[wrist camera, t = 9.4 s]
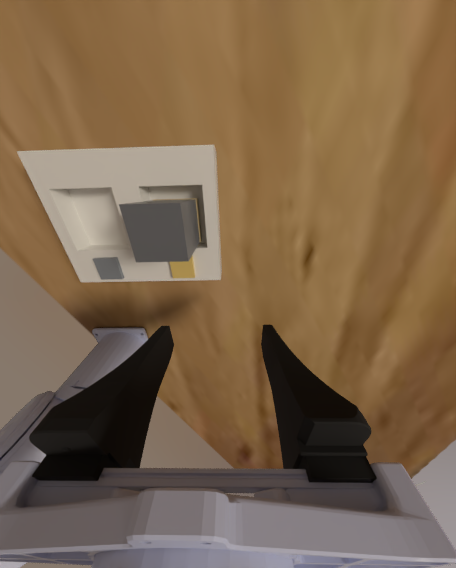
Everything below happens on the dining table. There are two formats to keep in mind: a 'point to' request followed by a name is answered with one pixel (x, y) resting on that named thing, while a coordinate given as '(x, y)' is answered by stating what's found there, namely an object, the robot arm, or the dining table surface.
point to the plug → (163, 229)
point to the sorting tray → (120, 190)
